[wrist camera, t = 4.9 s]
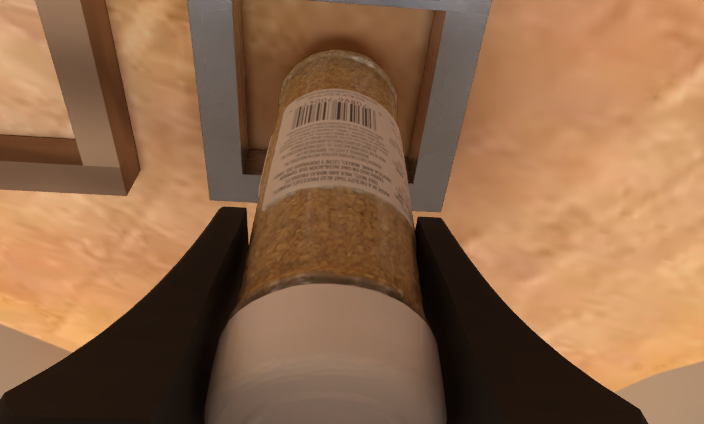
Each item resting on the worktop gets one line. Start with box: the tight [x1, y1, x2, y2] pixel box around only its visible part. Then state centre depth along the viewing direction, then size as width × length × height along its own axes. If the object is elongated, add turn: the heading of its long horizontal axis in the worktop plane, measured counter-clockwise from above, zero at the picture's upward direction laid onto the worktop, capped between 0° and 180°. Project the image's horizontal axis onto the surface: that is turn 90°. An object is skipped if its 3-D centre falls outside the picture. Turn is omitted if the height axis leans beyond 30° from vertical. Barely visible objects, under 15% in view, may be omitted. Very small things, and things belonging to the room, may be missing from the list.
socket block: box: [187, 0, 492, 212], centre depth 21 cm, size 10×10×2 cm
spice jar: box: [204, 49, 447, 424], centre depth 15 cm, size 5×5×14 cm
